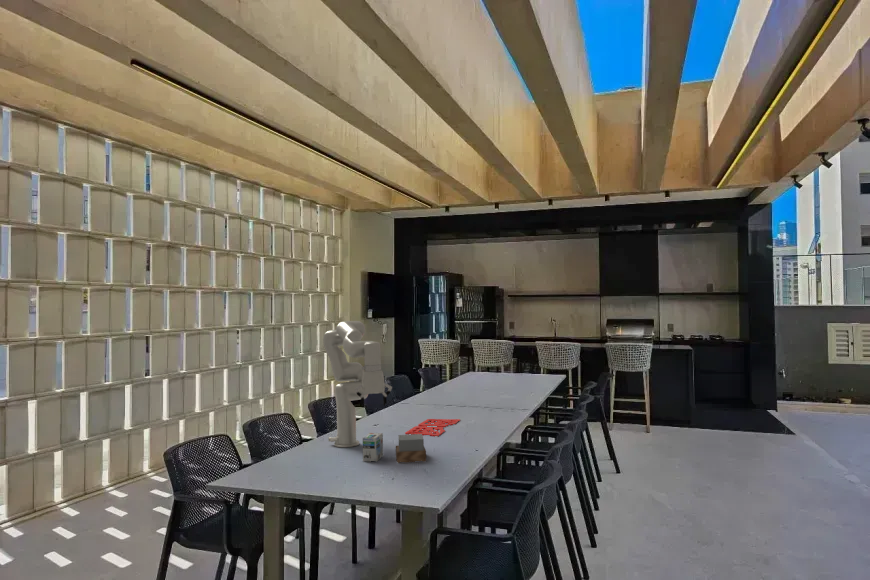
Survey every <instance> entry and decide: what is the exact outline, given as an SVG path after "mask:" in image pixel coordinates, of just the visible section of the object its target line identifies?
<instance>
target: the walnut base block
mask: <svg viewBox="0 0 870 580" xmlns="http://www.w3.org/2000/svg"><path fill="white" fill-rule="evenodd" d="M395 458H396V463H397V462H405V463H416V462H415V461H423V462H427V450H426V447H425V446H424V451H404V452H399V444H398V445H395Z"/></svg>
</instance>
